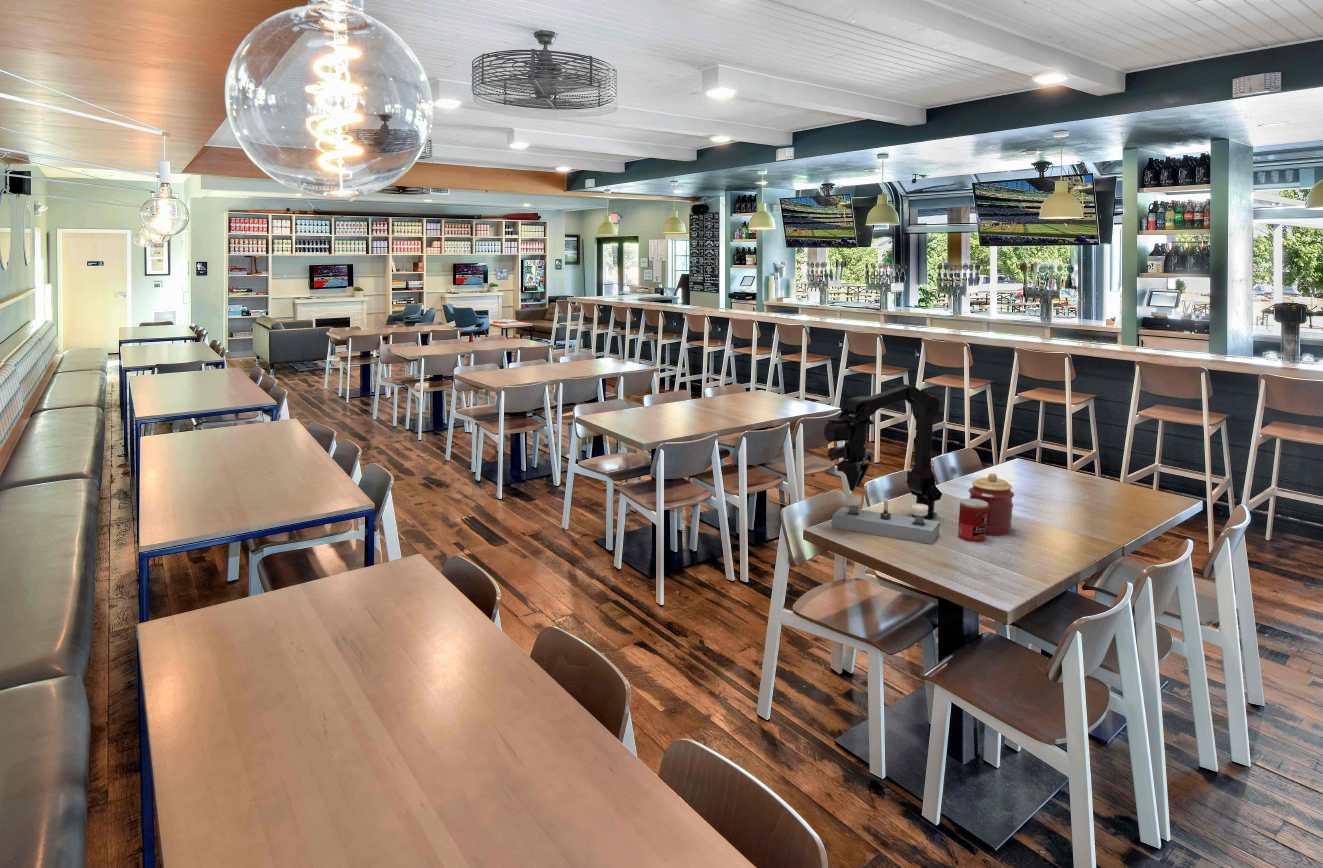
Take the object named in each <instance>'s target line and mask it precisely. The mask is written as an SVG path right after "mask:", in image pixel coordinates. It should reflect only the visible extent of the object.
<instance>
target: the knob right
mask: <svg viewBox="0 0 1323 868" xmlns="http://www.w3.org/2000/svg"><path fill="white" fill-rule="evenodd" d="M911 514H913V515H915V516H914V518H915V521H914V522H915V523H917V524H923V523H924V519H925V518H924V516H926V515H928V506H927V505H925V504H916V503H912V504H911Z"/></svg>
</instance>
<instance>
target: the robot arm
mask: <svg viewBox="0 0 1323 868" xmlns="http://www.w3.org/2000/svg"><path fill="white" fill-rule="evenodd" d="M903 401H905V402H906V403H908V404H910V405H911V411H912V412H911V413H912V416H913V418H914V420H915V422H916V423H915V426H916V427H915V448H914V449H915V451H914V466H913V467H912V469H911V470H908V471H907V472H906V477H907V478H906V482H905V483H906V484H907V487H908V488H909V490H910V494H911V496H912V495H913V496H914V497H915V496H916V499H915V504H925V505H927V506H928V515H926V516H924V519H927V520H933V519H935V517H936V516H937V515H938V513H937V512H935V503H936V502H937V501H939V500H941V499H942V495H943V493H942V491H940V489H939V488H938V487H937V485H936V476H935V473H934V472H933V469H932V467H931V466H932V463H931V462H932V446H933V431H934V430H933V429H934V428H933V427H934V426H933V425H934V422H935V421H936V419H937V418H938V417H939V412H940V407H941V401H940V400H939V399H938V397H936V396H934V395H930V394H928V393H926V392H924V391H922V390H920V389H918V388H917V387H916V386H915V385H911V384H907V383H904V384H901V385H900V386H897V387H894V388H891V389H888V390H884V391H882V392H879V393H877V394H874V395H867V396H863V395H862V396H855V397H854V396H853V397H850V398H849V399H847V402H846V404H845V406H844V408H843V409H842V411H841V412H840V414H839V415H838V416H837V418H836V419H834V418H830V419H828V422H827V423H826V424H825V426H824V428H823V436H824V438H825V440H826V442H829V443H833V442H845V441H846V442H845V443H844V445H842V446H837V447H836V446H834V447H830V448H828V451H827V455H826V456H827V458H829V460H830V462H832V461H835V460H839V459H842V460H841V461H840V462H838V464H837V465H836V471H837V472H842V473H843V474H844V475H845V476H846V477H845V478H846V480H847V484H848V488H849V491H851V492H854V491H855V489H856V487H857V488H859V487H860V486H861V483H862V481H863V479H864V478H865V476H866V474H867V472H868V470H869V468H870V466H871V463H873V462H874V461H875V458H874V457H875V455H874V453H873V452H871V451H867V447H868V446H869V441H867V438H868V437H867V436H868V426H869V425H874V424H875V422H874V421H873V420H871V418H870V417H871V416H873V415H875V413H876V412H877V411H878V410H880V409H883V408H885V407H889V406H891V405H894V404H897V403H900V402H903ZM867 461H868V462H867ZM911 514H912V513H911ZM912 517H915V515H913V514H912Z"/></svg>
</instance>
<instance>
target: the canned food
mask: <svg viewBox="0 0 1323 868" xmlns="http://www.w3.org/2000/svg"><path fill="white" fill-rule="evenodd" d="M958 514H959V515H958V527H957V528H958V529H957V535H958V537H959V539H962V540H964V541H968V542H974V543H975V542H984V541H985V539H986V538H987V534H986V529H987V518H988V503H987V502H985V501H983V500H979V499H969V498H962V499H960V504H959V513H958Z"/></svg>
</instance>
